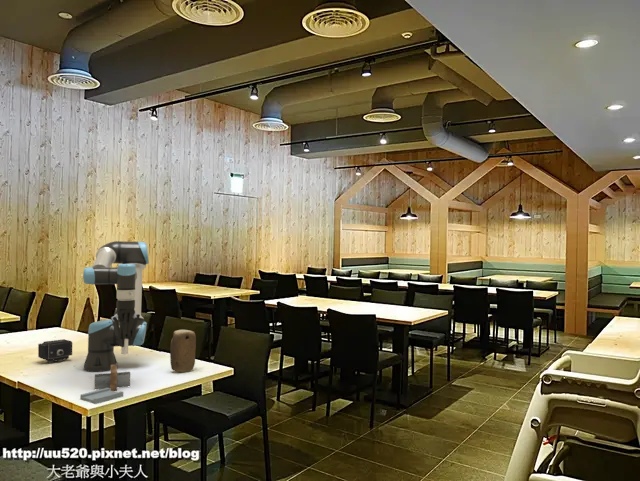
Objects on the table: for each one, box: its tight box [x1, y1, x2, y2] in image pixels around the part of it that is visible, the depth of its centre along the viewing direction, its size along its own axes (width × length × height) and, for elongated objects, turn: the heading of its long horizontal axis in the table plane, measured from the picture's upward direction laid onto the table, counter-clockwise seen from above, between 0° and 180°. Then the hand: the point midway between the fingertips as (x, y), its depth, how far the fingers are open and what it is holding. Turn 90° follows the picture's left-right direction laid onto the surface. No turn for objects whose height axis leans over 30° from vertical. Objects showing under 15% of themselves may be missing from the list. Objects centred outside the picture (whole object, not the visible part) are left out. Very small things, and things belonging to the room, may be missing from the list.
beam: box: [110, 363, 118, 392], centre depth 216 cm, size 2×15×8 cm, turn 22°
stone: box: [169, 329, 197, 373], centre depth 245 cm, size 12×7×20 cm, turn 137°
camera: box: [37, 339, 73, 364], centre depth 260 cm, size 11×11×15 cm
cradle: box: [79, 388, 124, 405], centre depth 200 cm, size 12×10×2 cm
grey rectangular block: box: [94, 371, 131, 390], centre depth 216 cm, size 14×4×6 cm, turn 114°
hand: (124, 353), depth 218 cm, fingers closed
